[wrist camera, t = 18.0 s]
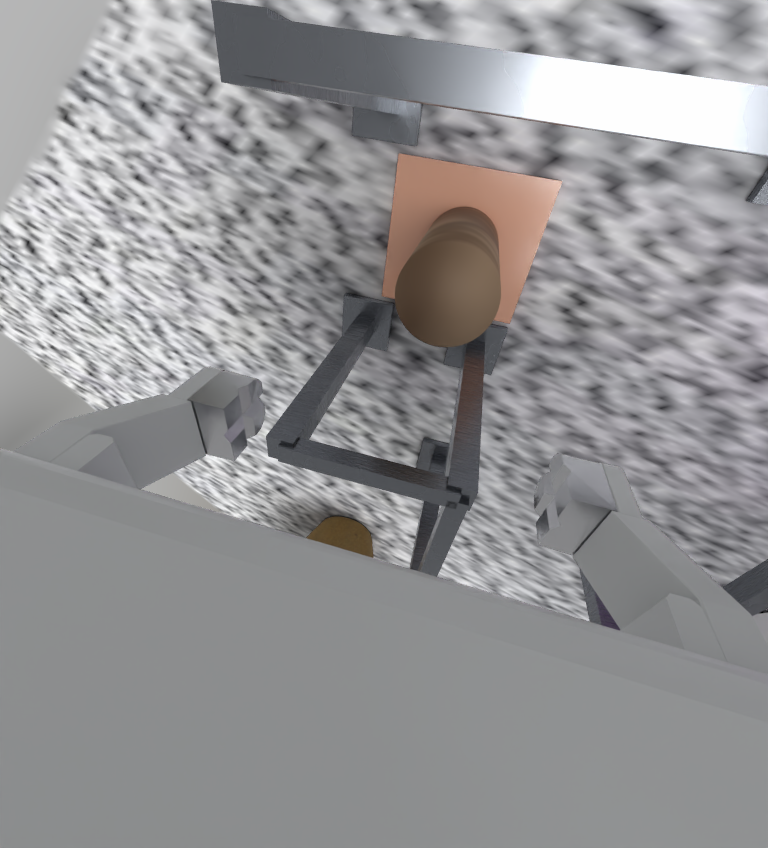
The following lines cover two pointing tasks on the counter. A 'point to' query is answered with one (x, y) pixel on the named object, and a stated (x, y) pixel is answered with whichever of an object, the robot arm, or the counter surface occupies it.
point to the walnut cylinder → (451, 280)
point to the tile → (478, 188)
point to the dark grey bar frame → (399, 122)
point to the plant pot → (344, 535)
